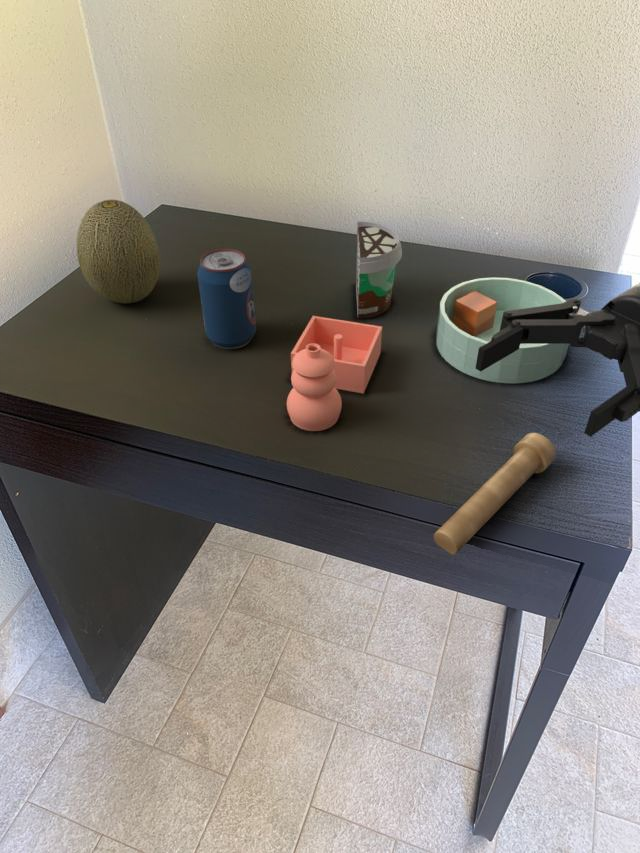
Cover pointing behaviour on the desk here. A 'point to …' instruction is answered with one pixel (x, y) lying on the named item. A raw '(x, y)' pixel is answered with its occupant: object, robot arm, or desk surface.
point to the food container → (375, 267)
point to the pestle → (496, 491)
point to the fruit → (118, 252)
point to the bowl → (509, 296)
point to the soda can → (227, 298)
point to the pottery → (330, 369)
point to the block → (474, 313)
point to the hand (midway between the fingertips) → (531, 390)
